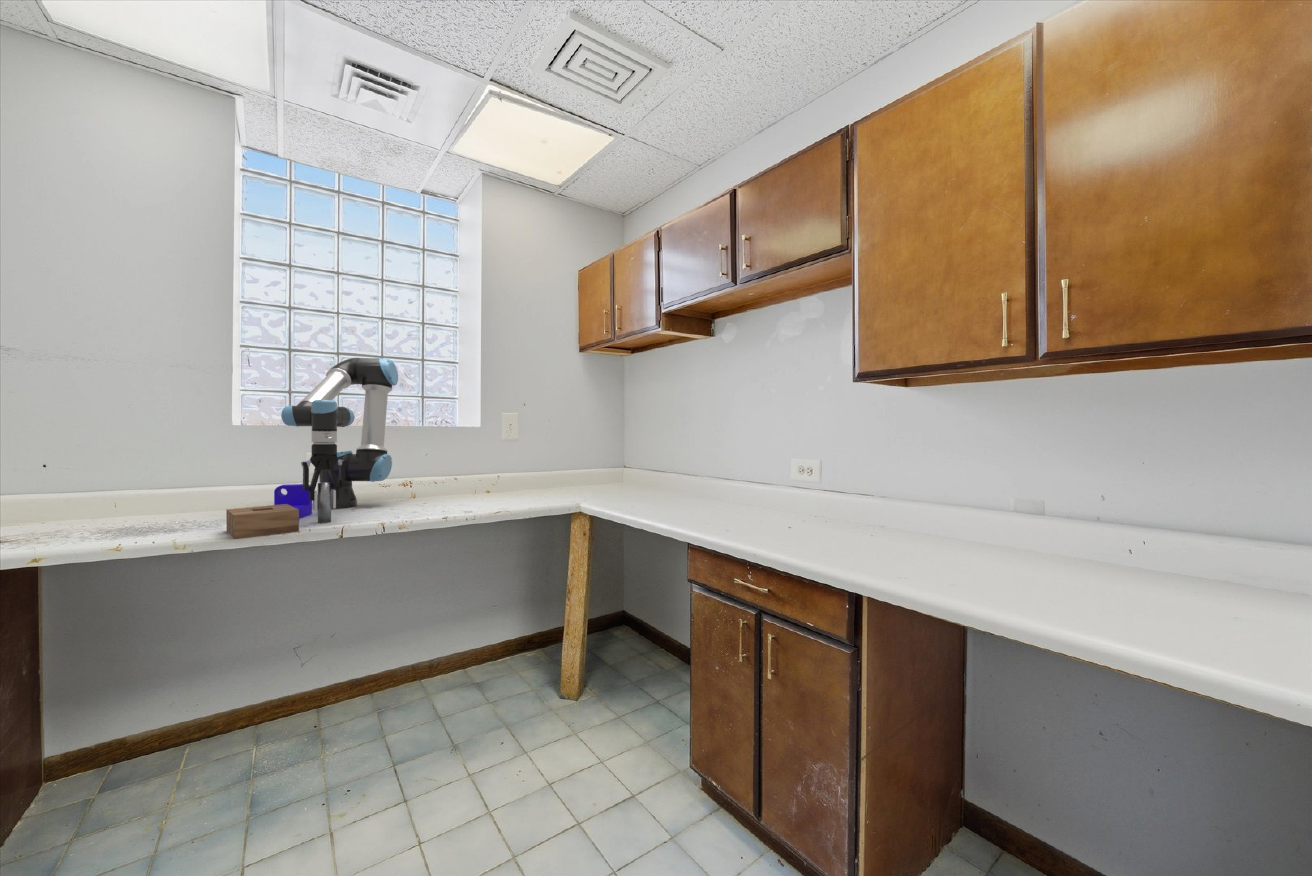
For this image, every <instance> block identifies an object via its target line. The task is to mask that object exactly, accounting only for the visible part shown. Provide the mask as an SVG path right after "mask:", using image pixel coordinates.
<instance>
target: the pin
mask: <svg viewBox="0 0 1312 876" xmlns="http://www.w3.org/2000/svg"><path fill="white" fill-rule="evenodd" d="M317 494H318V508H317V523H318V524H326V523H327V524H328V523H331V522H332V508H331V482H320V481H319V482H317Z"/></svg>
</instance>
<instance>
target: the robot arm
mask: <svg viewBox="0 0 1312 876" xmlns="http://www.w3.org/2000/svg"><path fill="white" fill-rule="evenodd" d="M325 376H326V377H324V378H323V379H322V380H321V381H320V382H319V383H318V384H317V385H316V386H315V387H314V388H313V389H312V390H311V391H310V392H308V394H307V395H306V396H305V397H304V398H303V399H302V400H301V401H299V403H298V404H296V405H286V406H285V407H283V408H282V410H281V414H280V416H281V421H282V422H283V424H284V425H285V426H288V427H297V428H298V427H311V443H312V444H311V455H310V458H309V459H308V460H306V461H301V462H300V464H301V467H302V484H303V489H304V490H308V491H309V499H310V500H311V501H312V511H318V490H316V487H317V485H318V482H319V483H320V482H331V509H343V508H350V507H351V508H352V507H355V506H357V505H358V502H357V501H358V500H357V497H356V493H355V491H354V489H353V482H373V483H374V482H382V481H385V480H386V479H387V478H388V477H389V475H390V473H391V471H392V467H393V458H392V456H391V455H390V454H389V453H388V450H387V449H386V448H385V435H386V423H387V422H386V420H387V410H388V409H387V407H388V398H389V397H388V394H389V393H391V392H392V391H393V386H397V385H398V382H399V372H398V368H397V366H396V364H395V362H394V361H393V360H391V359H390V358H382V357H379V358H376V357H375V358H372V357H371V358H370V357H351V358H348V359H344V360H343V361H340V362H339V363H337V364H335V365H334V366H332V367H331V368H329V370H327V371H326V374H325ZM352 385H353V386H354V385H361V388H362V389H363V390H364V393H365V394H364V404H363V405H364V406H363V415H362V417H363V418H362V428H361V441H360V445H359V447H357V448H356V450H355V453H353V451H352V450H344V451H338V445H337V442H338V428H345V427H349V426H351V425H352V424H353V423H354V422H355V416H356V415H355V413H354V411H352V410H351V408H349V407H345V406H338V403H337V401H336V400H334V399H335V398H336V397H337V396H339V394H340V393H341V391H343V390H344V389H348V388H349V387H350V386H352ZM311 464H312V466H313V467H314V469H313V471H314V472H313V473H312V474H313V475H312V477H311V481H310V466H311ZM318 480H319V481H318ZM309 485H310V487H309Z"/></svg>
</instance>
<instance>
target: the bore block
mask: <svg viewBox="0 0 1312 876" xmlns="http://www.w3.org/2000/svg"><path fill="white" fill-rule="evenodd" d="M225 517H226V522H225V523H226V532H227V533H228V534H229V535H230V536H231V537H232V538H233V539H234V540H235V539H236V540H237V539H243V538H253V537H261V536H269V535H278V534H285V533H293V532H294V533H295V532H299V530H300V528H299V527H300V519H299V509H297V508H294V507H292V506H290V505H288V504H282V505H274V504H271V505H261V506H260V505H259V506H251V507H249V506H248V507H247V506H246V507H237V508H226V515H225Z"/></svg>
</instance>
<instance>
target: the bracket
mask: <svg viewBox="0 0 1312 876" xmlns="http://www.w3.org/2000/svg"><path fill="white" fill-rule="evenodd" d="M309 487H310V484H309ZM282 490H285V491H286V494H284V493H282ZM273 498H274V500H273V505H282V504H288V505H290V506H292V507H294V508H297V509H299V520H301V519H303V518H306V517H309V516H312V514H313V501H311V500H310V499H309V491H308V490H304V489H303V483H294V484H291V483H289V484H281V485H279V486H277V487H276V488H275V489H274V492H273Z"/></svg>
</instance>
